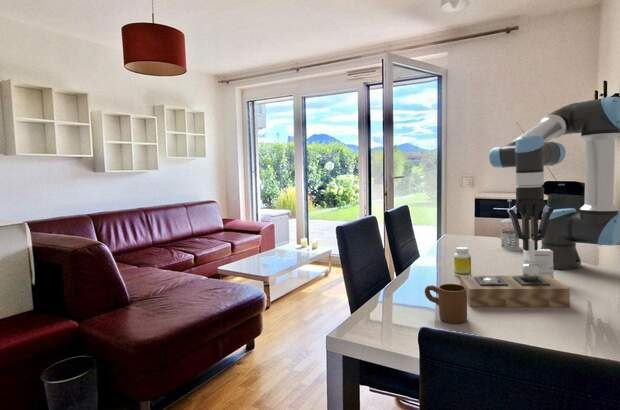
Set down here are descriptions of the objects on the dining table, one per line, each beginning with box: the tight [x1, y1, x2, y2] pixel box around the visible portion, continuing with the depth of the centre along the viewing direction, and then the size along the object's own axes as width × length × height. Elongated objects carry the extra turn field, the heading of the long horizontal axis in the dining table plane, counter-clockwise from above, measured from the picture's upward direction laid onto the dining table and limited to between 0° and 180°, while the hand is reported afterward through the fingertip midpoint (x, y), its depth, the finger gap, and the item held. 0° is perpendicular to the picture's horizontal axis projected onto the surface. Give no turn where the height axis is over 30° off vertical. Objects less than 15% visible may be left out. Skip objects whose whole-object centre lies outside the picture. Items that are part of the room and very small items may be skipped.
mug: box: [424, 283, 468, 325], centre depth 108 cm, size 12×8×9 cm, turn 51°
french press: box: [495, 198, 522, 252], centre depth 185 cm, size 10×12×25 cm
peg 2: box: [522, 262, 539, 282], centre depth 118 cm, size 4×4×6 cm
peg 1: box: [483, 277, 498, 283], centre depth 121 cm, size 4×4×6 cm
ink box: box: [522, 248, 555, 279], centre depth 134 cm, size 9×5×12 cm, turn 71°
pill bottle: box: [453, 246, 472, 278], centre depth 148 cm, size 6×6×11 cm
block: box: [459, 274, 571, 308], centre depth 120 cm, size 28×14×6 cm, turn 79°
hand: (530, 260), depth 118 cm, fingers closed
